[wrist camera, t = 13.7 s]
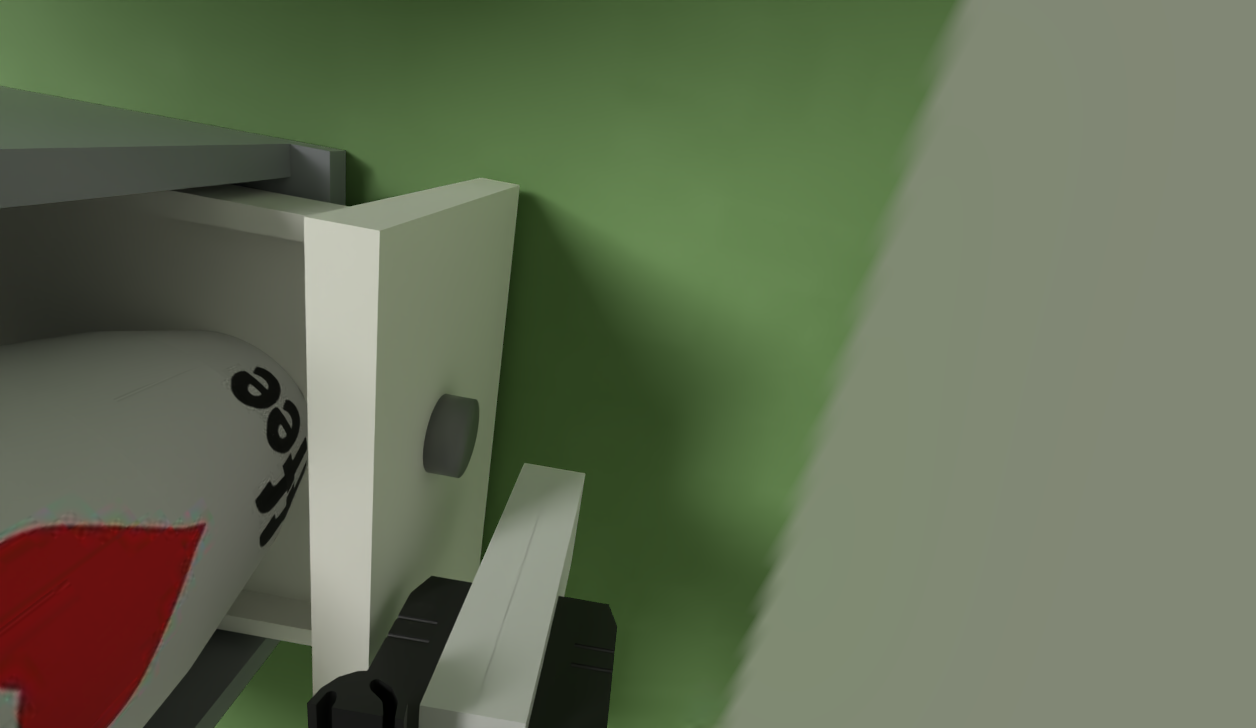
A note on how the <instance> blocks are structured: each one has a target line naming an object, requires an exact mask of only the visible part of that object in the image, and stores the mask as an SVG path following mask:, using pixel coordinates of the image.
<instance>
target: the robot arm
mask: <svg viewBox="0 0 1256 728" xmlns="http://www.w3.org/2000/svg"><path fill="white" fill-rule="evenodd" d="M585 474H586V473H581V472H575V471H569V470H563V469H557V468H552V467H546V466H540V465H534V464H529V463H524V465H523V467H522V469H521V472H520V474H519V476H518V478H517V481H516V483H515V485H514V488H513V490H512V492H511V495H510V497H509V499H508V502H507V504H506V506H505V509H504V511H503V513H502V516H501V518H500V520H499V523H498V525H497V527H496V529H495V532H494V534H493V536H492V539H491V541H490V543H489V546H488V548H487V550H486V553H485V555H484V557H483V560H482V562H481V564H480V567H479V569H478V571H477V574H476V576H475V578H474V580H473V583H471V582H465V581H460V580H454V579H448V578H442V577H436V576H431V577H429V578H428V579H427V580H426V581H424V582H423V583H422V584H421V585H419V586H418V587H417V588H416V589H415V590H413V591H412V592H411V593H410V595H409V596H408V598H407V600H406V602H405V604H404V605H403V607H402V609H401V611H400V613H399V614H398V618H397V619H396V620H395V622H394V623H393V625H392V627H391V629H390V631H389V632H388V636H387V637H386V638H385V640H384V641H383V643H382V645H381V647H380V649H379V650H378V652H377V654H376V656H375V658H374V659H373V661H372V663H371V665H370V667H369V668H368V670H367V671H356V672H353V673H349V674H346V675H343V676H339V677H337V678H336V679H334V680H333V681H331V682H329V683H328V684H326V685H325V686H323V687H321V688H320V689H319V691H318V692H317V693H316V694H315V695H314V696H313V697H312V698H311V700H310V701H309V702H308V703H307V709H308V728H607V721H608V711H609V701H610V691H611V682H612V671H613V662H614V651H615V642H616V632H617V625H616V623H615V620H614V617H613V615H612V612H611V609H610V607H609V604H603V603H597V602H591V601H585V600H580V599H574V598H568V597H564V594H565V590H566V585H567V581H568V576H569V572H570V567H571V562H572V556H573V549H574V543H575V537H576V530H577V524H578V518H579V511H580V505H581V499H582V493H583V486H584V480H585Z"/></svg>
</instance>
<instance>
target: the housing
mask: <svg viewBox="0 0 1256 728" xmlns="http://www.w3.org/2000/svg"><path fill="white" fill-rule="evenodd" d="M222 184H231V185H236V186H242V187H247V188H253V189H258V190H263V191H269V192H274V193H279V194H285V195H290V196H295V197H301V198H306V199H312V200H317V201H322V202H328V203H333V204H338V205H344V206H346V150H340V149H335V148H330V147H324V146H319V145H314V144H308V143H303V142H298V141H292V140H287V139H281V138H276V137H271V136H265V135H260V134H255V133H249V132H244V131H239V130H233V129H228V128H223V127H217V126H212V125H207V124H201V123H196V122H191V121H185V120H180V119H175V118H169V117H164V116H158V115H153V114H148V113H142V112H137V111H132V110H126V109H121V108H116V107H110V106H105V105H100V104H94V103H89V102H84V101H78V100H73V99H68V98H62V97H57V96H51V95H46V94H41V93H35V92H30V91H25V90H19V89H14V88H9V87H3V86H0V208H7V207H17V206H26V205H35V204H45V203H54V202H63V201H73V200H82V199H91V198H101V197H110V196H119V195H129V194H138V193H147V192H156V191H166V190H175V189H184V188H194V187H203V186H212V185H222ZM280 641H281V640H276V639H270V638H265V637H260V636H254V635H249V634H243V633H238V632H232V631H227V630H221V629H216V630H215V632H214V633H213V635H212V636H211V638H210V639H209V641H208V642H207V644H206V645H205V647H204V648H203V650H202V651H201V653H200V654H199V656H198V658H197V659H196V661H195V662H194V664H193V665H192V667H191V668H190V670H189V671H188V672H187V674H186V675H185V676H184V677H183V679H182V680H181V681H180V682H179V683H178V685H177V686H176V687H175V688H174V690H173V691H172V692H171V693H170V695H169V696H168V697H167V698H166V700H165V701H164V702H163V703H162V704H161V706H160V707H159V708H158V709H157V711H156V712H155V713H154V714H153V716H152V717H151V718H150V719H149V721H148V722H147V723H146V724H145V726H144V727H143V728H214V727H215V726H216V724H217V723H218V722H219V720H220V719H221V718H222V717H223V715H224V714H225V713H226V711H227V710H228V709H229V707H230V706H231V705H232V703H233V702H234V701H235V700H236V698H237V697H238V696H239V694H240V693H241V692H242V690H243V689H244V688H245V687H246V685H247V684H248V683H249V681H250V680H251V679H252V677H253V676H254V675H255V673H256V672H257V671H258V670H259V668H260V667H261V666H262V664H263V663H264V662H265V660H266V659H267V658H268V657H269V655H270V654H271V653H272V651H273V650H274V649H275V647H276V646H277V645H278V643H279V642H280Z"/></svg>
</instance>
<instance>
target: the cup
mask: <svg viewBox="0 0 1256 728" xmlns="http://www.w3.org/2000/svg"><path fill="white" fill-rule="evenodd" d="M307 467H308V413H307V402H306V400H305V398H304V396H303V394H302V392H301V391H300V389H299V387H298V386H297V384H296V383H295V382H294V380H293V379H292V378H291V376H290V375H289V374H288V373H287V372H286V371H285V370H284V369H283V368H282V367H281V366H280V365H279V364H278V363H277V362H276V361H275V360H274V359H273V358H271V357H270V356H269V355H267V354H266V353H265V352H263V351H262V350H260V349H259V348H257V347H255V346H253V345H252V344H250V343H248V342H246V341H244V340H241V339H239V338H236V337H234V336H231V335H227V334H224V333H219V332H214V331H206V330H167V331H94V332H85V333H78V334H71V335H65V336H58V337H52V338H45V339H38V340H32V341H25V342H18V343H12V344H5V345H0V728H143V727H144V726H145V724H146V723H147V722H148V721H149V719H150V718H151V717H152V716H153V714H154V713H155V712H156V711H157V709H158V708H159V707H160V706H161V704H162V703H163V702H164V701H165V700H166V698H167V697H168V696H169V695H170V693H171V692H172V691H173V690H174V688H175V687H176V686H177V685H178V683H179V682H180V681H181V680H182V679H183V677H184V676H185V675H186V674H187V672H188V671H189V670H190V668H191V667H192V665H193V664H194V662H195V661H196V659H197V658H198V656H199V654H200V653H201V651H202V650H203V648H204V647H205V645H206V644H207V642H208V641H209V639H210V638H211V636H212V635H213V633H214V632H215V630H216V629H217V627H218V626H219V624H220V623H221V621H222V620H223V618H224V617H225V615H226V613H227V612H228V610H229V609H230V607H231V606H232V604H233V603H234V601H235V600H236V598H237V597H238V595H239V594H240V592H241V591H242V589H243V588H244V586H245V585H246V583H247V582H248V580H249V579H250V577H251V576H252V574H253V572H254V571H255V569H256V568H257V566H258V565H259V563H260V562H261V560H262V559H263V557H264V556H265V554H266V553H267V551H268V550H269V548H270V547H271V545H272V544H273V542H274V541H275V539H276V537H277V535H278V534H279V532H280V529H281V527H282V525H283V522H284V520H285V518H286V516H287V513H288V511H289V509H290V506H291V504H292V502H293V499H294V497H295V495H296V492H297V490H298V488H299V485H300V483H301V481H302V478H303V476H304V474H305V471H306V469H307Z"/></svg>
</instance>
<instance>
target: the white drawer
mask: <svg viewBox="0 0 1256 728" xmlns="http://www.w3.org/2000/svg"><path fill="white" fill-rule="evenodd" d="M519 189H520V185H518V184H513V183H507V182H502V181H497V180H491V179H486V178H477V179H473V180H468V181H463V182H459V183H454V184H450V185H445V186H441V187H436V188H432V189H427V190H423V191H418V192H413V193H409V194H404V195H400V196H395V197H391V198H386V199H382V200H377V201H373V202H368V203H364V204H359V205H354V206H350V207H349V206H344V205H338V204H333V203H328V202H322V201H317V200H312V199H306V198H301V197H295V196H290V195H285V194H279V193H274V192H269V191H263V190H258V189H253V188H247V187H242V186H236V185H231V184H222V185H212V186H203V187H194V188H184V189H175V190H166V191H156V192H147V193H138V194H129V195H119V196H110V197H101V198H91V199H82V200H73V201H63V202H54V203H45V204H35V205H26V206H17V207H7V208H0V345H5V344H12V343H18V342H25V341H32V340H38V339H45V338H52V337H58V336H65V335H71V334H78V333H85V332H94V331H167V330H206V331H214V332H219V333H224V334H227V335H231V336H234V337H236V338H239V339H241V340H244V341H246V342H248V343H250V344H252V345H253V346H255V347H257V348H259V349H260V350H262V351H263V352H265V353H266V354H267V355H269V356H270V357H271V358H273V359H274V360H275V361H276V362H277V363H278V364H279V365H280V366H281V367H282V368H283V369H284V370H285V371H286V372H287V373H288V374H289V375H290V376H291V378H292V379H293V380H294V382H295V383H296V384H297V386H298V387H299V389H300V391H301V392H302V394H303V396H304V398H305V400H306V402H307V413H308V467H307V469H306V471H305V474H304V476H303V478H302V481H301V483H300V485H299V488H298V490H297V492H296V495H295V497H294V499H293V502H292V504H291V506H290V509H289V511H288V513H287V516H286V518H285V520H284V522H283V525H282V527H281V529H280V532H279V534H278V535H277V537H276V539H275V541H274V542H273V544H272V545H271V547H270V548H269V550H268V551H267V553H266V554H265V556H264V557H263V559H262V560H261V562H260V563H259V565H258V566H257V568H256V569H255V571H254V572H253V574H252V576H251V577H250V579H249V580H248V582H247V583H246V585H245V586H244V588H243V589H242V591H241V592H240V594H239V595H238V597H237V598H236V600H235V601H234V603H233V604H232V606H231V607H230V609H229V610H228V612H227V613H226V615H225V617H224V618H223V620H222V621H221V623H220V624H219V626H218V627H217V629H221V630H227V631H232V632H238V633H243V634H249V635H254V636H260V637H265V638H270V639H276V640H281V641H287V642H292V643H298V644H303V645H309V646H312V677H313V696H314V695H315V694H316V693H317V692H318V691H319V689H320V688H321V687H323V686H325V685H326V684H328V683H329V682H331V681H333V680H334V679H336V678H337V677H339V676H343V675H346V674H349V673H353V672H356V671H367V670H368V668H369V667H370V665H371V663H372V661H373V659H374V658H375V656H376V654H377V652H378V650H379V649H380V647H381V645H382V643H383V641H384V640H385V638H386V637H387V636H388V632H389V631H390V629H391V627H392V625H393V623H394V622H395V620H396V619H397V618H398V614H399V613H400V611H401V609H402V607H403V605H404V604H405V602H406V600H407V598H408V596H409V595H410V593H411V592H412V591H413V590H415V589H416V588H417V587H418V586H419V585H421V584H422V583H423V582H424V581H426V580H427V579H428V578H429V577H431V576H436V577H442V578H448V579H454V580H460V581H465V582H471V583H473V580H474V578H475V576H476V574H477V571H478V569H479V567H480V557H481V548H482V538H483V529H484V519H485V510H486V501H487V491H488V482H489V472H490V463H491V453H492V444H493V434H494V425H495V416H496V406H497V397H498V387H499V378H500V368H501V359H502V350H503V340H504V331H505V321H506V312H507V302H508V293H509V283H510V274H511V265H512V255H513V246H514V236H515V227H516V217H517V208H518V199H519Z"/></svg>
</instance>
